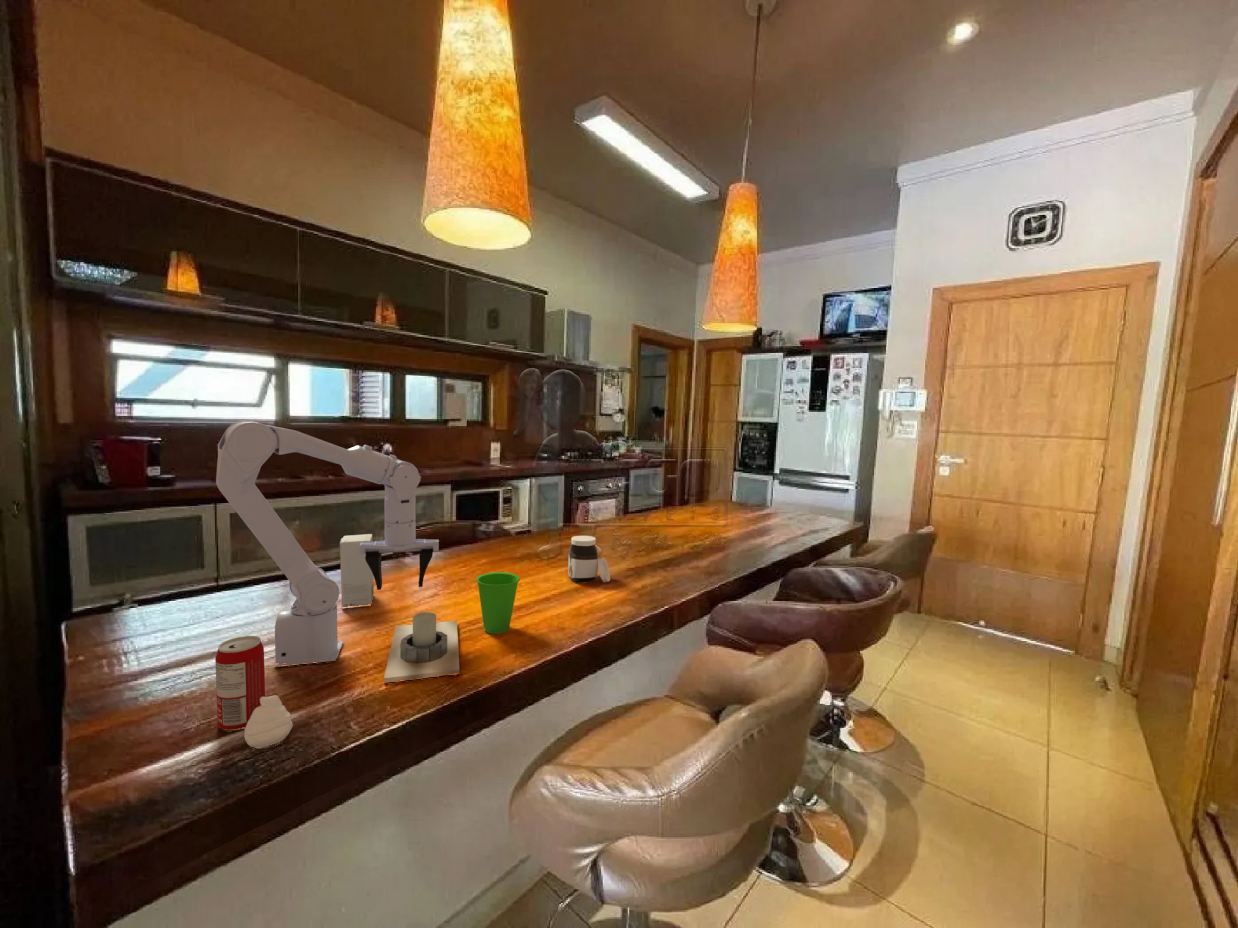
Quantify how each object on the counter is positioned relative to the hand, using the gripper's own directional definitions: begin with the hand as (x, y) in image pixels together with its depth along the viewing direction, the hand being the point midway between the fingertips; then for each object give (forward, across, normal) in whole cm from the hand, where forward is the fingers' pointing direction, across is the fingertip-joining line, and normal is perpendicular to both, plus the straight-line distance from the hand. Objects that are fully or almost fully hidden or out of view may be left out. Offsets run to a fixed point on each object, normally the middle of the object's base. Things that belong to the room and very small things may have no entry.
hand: (400, 586), depth 103 cm
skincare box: (+10, -11, +21) cm, 26 cm away
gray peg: (+9, +5, -12) cm, 16 cm away
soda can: (+10, -19, -26) cm, 34 cm away
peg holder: (+10, +5, -9) cm, 14 cm away
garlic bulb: (+10, -14, -31) cm, 36 cm away
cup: (+10, +19, -2) cm, 22 cm away
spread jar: (+10, +47, +26) cm, 55 cm away
